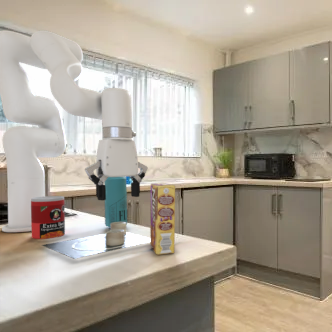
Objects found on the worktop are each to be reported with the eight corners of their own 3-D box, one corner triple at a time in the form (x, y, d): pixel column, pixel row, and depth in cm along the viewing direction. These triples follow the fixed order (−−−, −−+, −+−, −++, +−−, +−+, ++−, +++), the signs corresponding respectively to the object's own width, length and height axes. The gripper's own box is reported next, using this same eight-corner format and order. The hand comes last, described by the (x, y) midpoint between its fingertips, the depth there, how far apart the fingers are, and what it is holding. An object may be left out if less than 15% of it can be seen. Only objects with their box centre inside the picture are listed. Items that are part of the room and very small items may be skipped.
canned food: (40, 243, 82) (40, 199, 82) (25, 239, 87) (24, 198, 86) (71, 237, 89) (70, 196, 89) (55, 234, 93) (54, 195, 93)
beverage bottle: (119, 232, 95) (118, 163, 94) (99, 231, 96) (98, 163, 96) (132, 227, 101) (131, 163, 101) (113, 227, 102) (112, 163, 102)
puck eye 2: (103, 243, 78) (103, 231, 78) (119, 240, 81) (118, 228, 81) (111, 246, 76) (111, 233, 75) (127, 243, 79) (127, 230, 79)
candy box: (176, 253, 72) (175, 184, 72) (156, 255, 71) (155, 185, 70) (168, 244, 80) (167, 182, 80) (149, 246, 79) (149, 183, 78)
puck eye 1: (107, 234, 89) (107, 223, 89) (121, 231, 92) (121, 221, 92) (115, 236, 86) (115, 224, 86) (129, 233, 89) (129, 222, 89)
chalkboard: (41, 248, 78) (41, 244, 78) (120, 233, 93) (120, 230, 93) (74, 262, 66) (74, 258, 66) (158, 243, 82) (158, 239, 82)
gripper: (138, 137, 97) (140, 194, 98) (78, 134, 84) (80, 200, 84) (153, 135, 93) (154, 196, 93) (91, 132, 79) (93, 202, 79)
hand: (119, 198), depth 88 cm, fingers open, 9 cm apart
